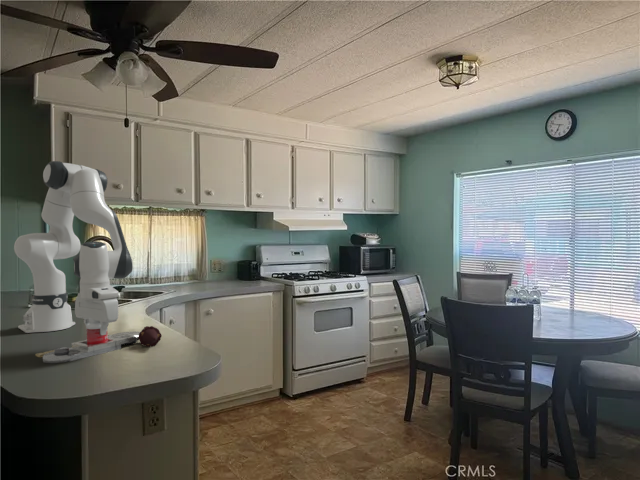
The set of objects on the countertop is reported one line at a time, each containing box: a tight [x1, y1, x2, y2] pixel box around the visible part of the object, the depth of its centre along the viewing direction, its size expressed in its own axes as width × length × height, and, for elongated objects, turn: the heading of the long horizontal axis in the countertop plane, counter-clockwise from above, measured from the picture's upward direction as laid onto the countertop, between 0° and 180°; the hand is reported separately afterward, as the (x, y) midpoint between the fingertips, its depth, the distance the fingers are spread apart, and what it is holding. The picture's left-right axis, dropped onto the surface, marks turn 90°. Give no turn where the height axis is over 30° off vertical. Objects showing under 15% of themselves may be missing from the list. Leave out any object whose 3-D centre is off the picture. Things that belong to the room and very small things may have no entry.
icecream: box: [138, 325, 162, 348], centre depth 153 cm, size 7×7×15 cm
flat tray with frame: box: [42, 331, 141, 364], centre depth 148 cm, size 32×10×3 cm, turn 146°
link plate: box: [34, 349, 55, 359], centre depth 145 cm, size 8×3×1 cm, turn 143°
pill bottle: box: [85, 318, 109, 345], centre depth 148 cm, size 6×6×11 cm
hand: (96, 333), depth 148 cm, fingers open, 6 cm apart
